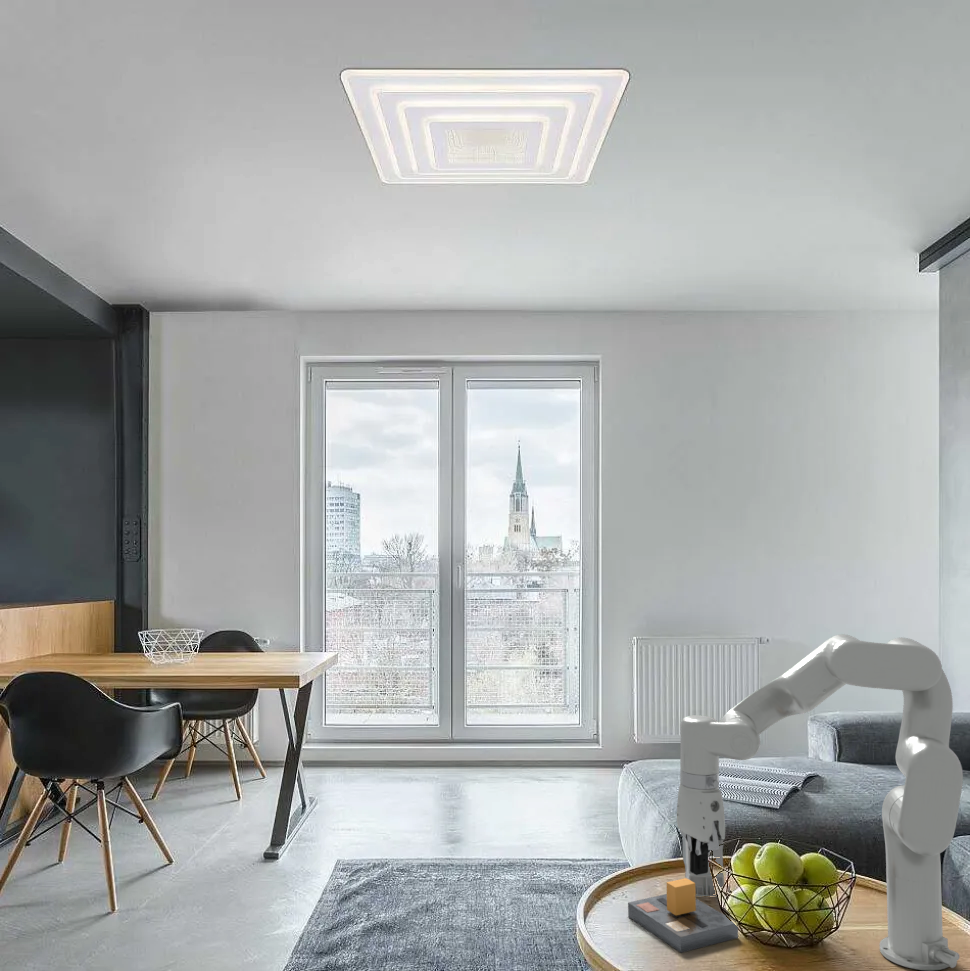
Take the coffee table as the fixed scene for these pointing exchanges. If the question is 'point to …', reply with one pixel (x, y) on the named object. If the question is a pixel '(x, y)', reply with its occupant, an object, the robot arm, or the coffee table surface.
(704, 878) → the circuit breaker
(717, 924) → the panel
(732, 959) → the coffee table surface
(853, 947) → the coffee table surface
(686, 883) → the block
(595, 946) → the coffee table surface
